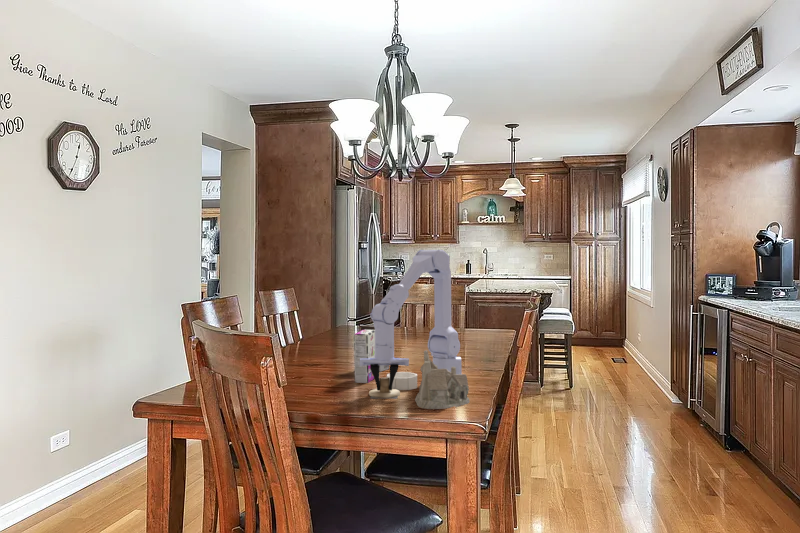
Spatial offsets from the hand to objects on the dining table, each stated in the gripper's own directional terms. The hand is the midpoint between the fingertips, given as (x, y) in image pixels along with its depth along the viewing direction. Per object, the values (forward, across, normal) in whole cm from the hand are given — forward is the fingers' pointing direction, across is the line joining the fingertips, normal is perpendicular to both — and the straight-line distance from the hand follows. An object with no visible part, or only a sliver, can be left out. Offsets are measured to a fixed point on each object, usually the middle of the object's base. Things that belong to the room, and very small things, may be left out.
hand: (384, 389), depth 178 cm
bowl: (+2, +5, +11) cm, 12 cm away
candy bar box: (+2, -8, +22) cm, 23 cm away
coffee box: (+2, -6, +42) cm, 42 cm away
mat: (+2, 0, 0) cm, 2 cm away
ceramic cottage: (+2, +17, -9) cm, 19 cm away
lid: (+1, 0, 0) cm, 1 cm away
